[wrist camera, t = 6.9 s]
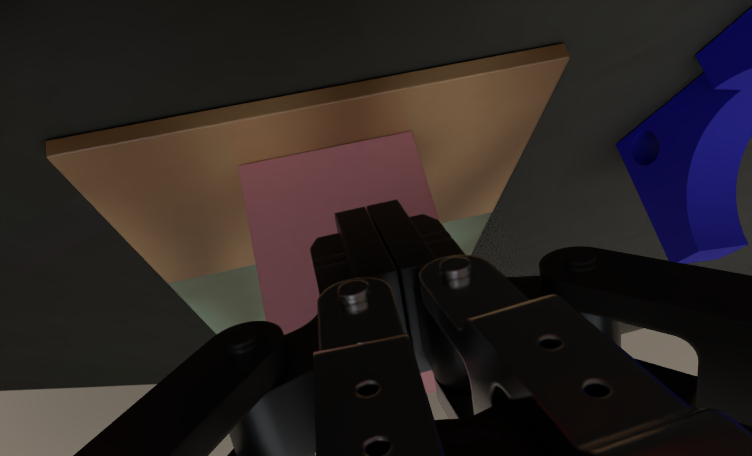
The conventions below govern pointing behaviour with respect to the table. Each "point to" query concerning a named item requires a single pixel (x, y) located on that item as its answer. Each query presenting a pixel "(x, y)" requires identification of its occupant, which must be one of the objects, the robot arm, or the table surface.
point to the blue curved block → (698, 153)
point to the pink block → (322, 213)
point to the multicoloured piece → (298, 135)
